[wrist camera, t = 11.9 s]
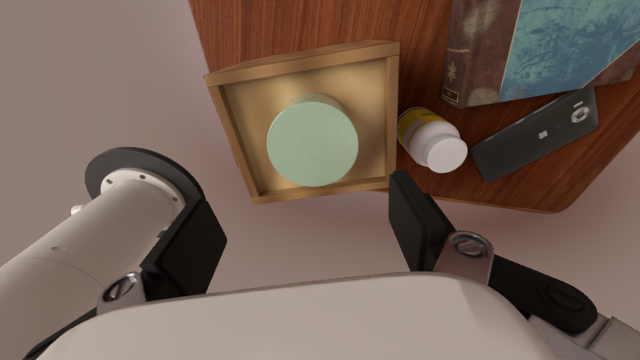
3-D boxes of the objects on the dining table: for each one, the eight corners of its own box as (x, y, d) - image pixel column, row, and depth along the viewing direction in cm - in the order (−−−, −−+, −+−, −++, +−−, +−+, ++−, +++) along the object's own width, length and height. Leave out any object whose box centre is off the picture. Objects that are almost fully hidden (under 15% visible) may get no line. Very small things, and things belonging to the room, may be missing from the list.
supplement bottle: (441, 119, 31) (487, 149, 23) (413, 149, 33) (444, 187, 25) (412, 97, 29) (450, 121, 21) (385, 131, 32) (408, 164, 23)
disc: (283, 173, 22) (279, 192, 19) (263, 100, 18) (254, 110, 16) (356, 164, 21) (361, 181, 19) (350, 85, 18) (355, 94, 15)
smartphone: (594, 125, 31) (600, 127, 31) (483, 182, 36) (487, 185, 36) (587, 79, 28) (594, 80, 27) (467, 148, 33) (470, 151, 32)
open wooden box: (274, 151, 33) (253, 205, 23) (248, 60, 27) (202, 75, 16) (369, 137, 32) (395, 187, 22) (366, 39, 26) (400, 41, 15)
